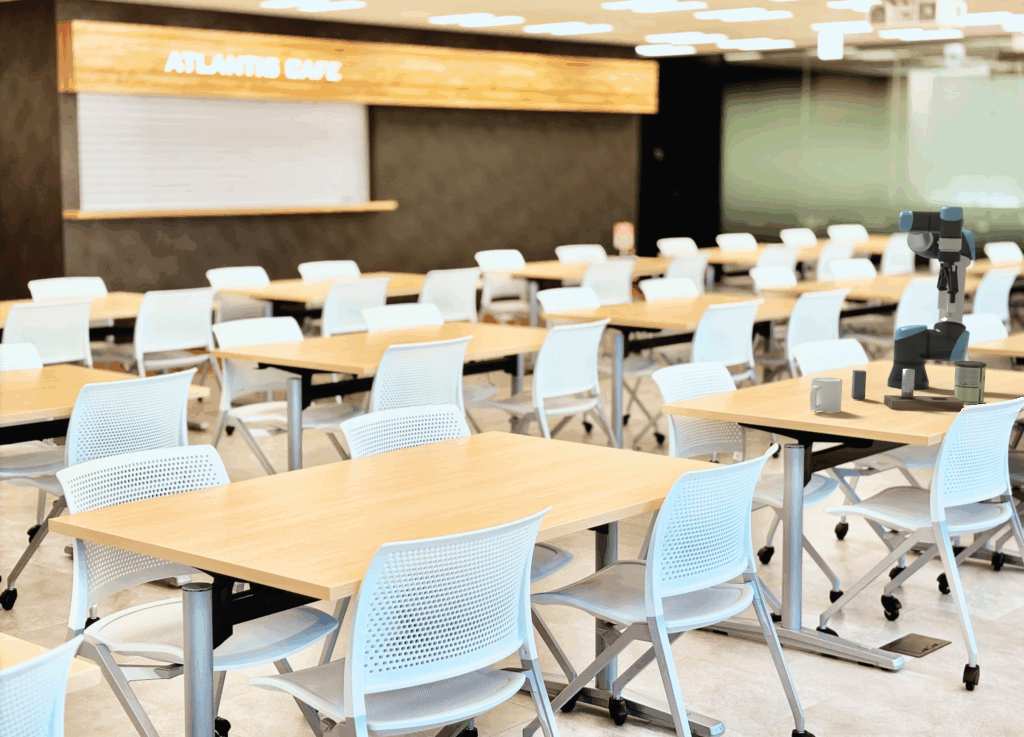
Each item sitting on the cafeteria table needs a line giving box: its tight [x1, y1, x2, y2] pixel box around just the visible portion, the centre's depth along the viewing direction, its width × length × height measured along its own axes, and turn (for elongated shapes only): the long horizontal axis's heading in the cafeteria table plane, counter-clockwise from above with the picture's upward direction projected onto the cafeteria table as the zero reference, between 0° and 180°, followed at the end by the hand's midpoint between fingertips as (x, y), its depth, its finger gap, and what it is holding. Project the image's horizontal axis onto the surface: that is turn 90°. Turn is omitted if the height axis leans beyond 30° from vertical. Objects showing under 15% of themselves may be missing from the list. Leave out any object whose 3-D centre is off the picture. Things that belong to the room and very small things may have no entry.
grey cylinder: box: [900, 369, 915, 400], centre depth 454 cm, size 4×4×13 cm
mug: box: [809, 376, 843, 412], centre depth 443 cm, size 14×10×11 cm
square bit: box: [851, 369, 867, 400], centre depth 471 cm, size 4×4×10 cm
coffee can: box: [953, 360, 987, 405], centre depth 466 cm, size 10×10×14 cm
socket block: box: [883, 394, 965, 412], centre depth 454 cm, size 12×24×3 cm, turn 86°
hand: (946, 310), depth 469 cm, fingers open, 13 cm apart
